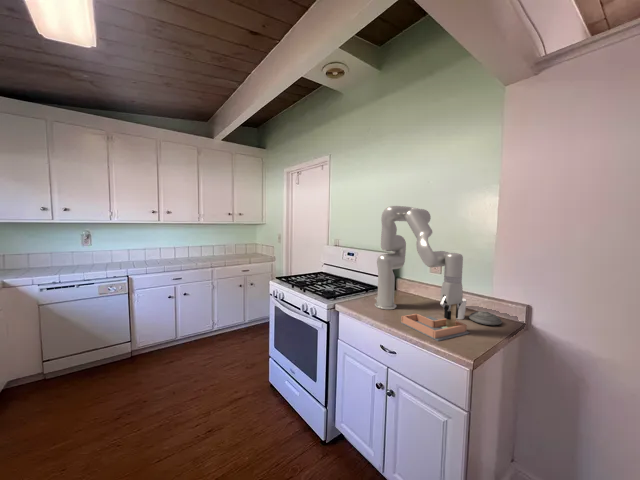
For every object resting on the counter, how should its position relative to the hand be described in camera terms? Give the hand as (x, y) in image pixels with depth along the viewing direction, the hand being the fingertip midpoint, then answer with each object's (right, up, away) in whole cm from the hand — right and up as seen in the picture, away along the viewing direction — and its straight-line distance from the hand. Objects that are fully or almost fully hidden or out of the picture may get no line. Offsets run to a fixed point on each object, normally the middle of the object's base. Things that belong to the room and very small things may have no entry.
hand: (451, 317), depth 131 cm
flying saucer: (+23, -6, +13) cm, 27 cm away
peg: (0, -4, 0) cm, 4 cm away
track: (-7, -6, +3) cm, 10 cm away
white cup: (+12, -5, +18) cm, 22 cm away
